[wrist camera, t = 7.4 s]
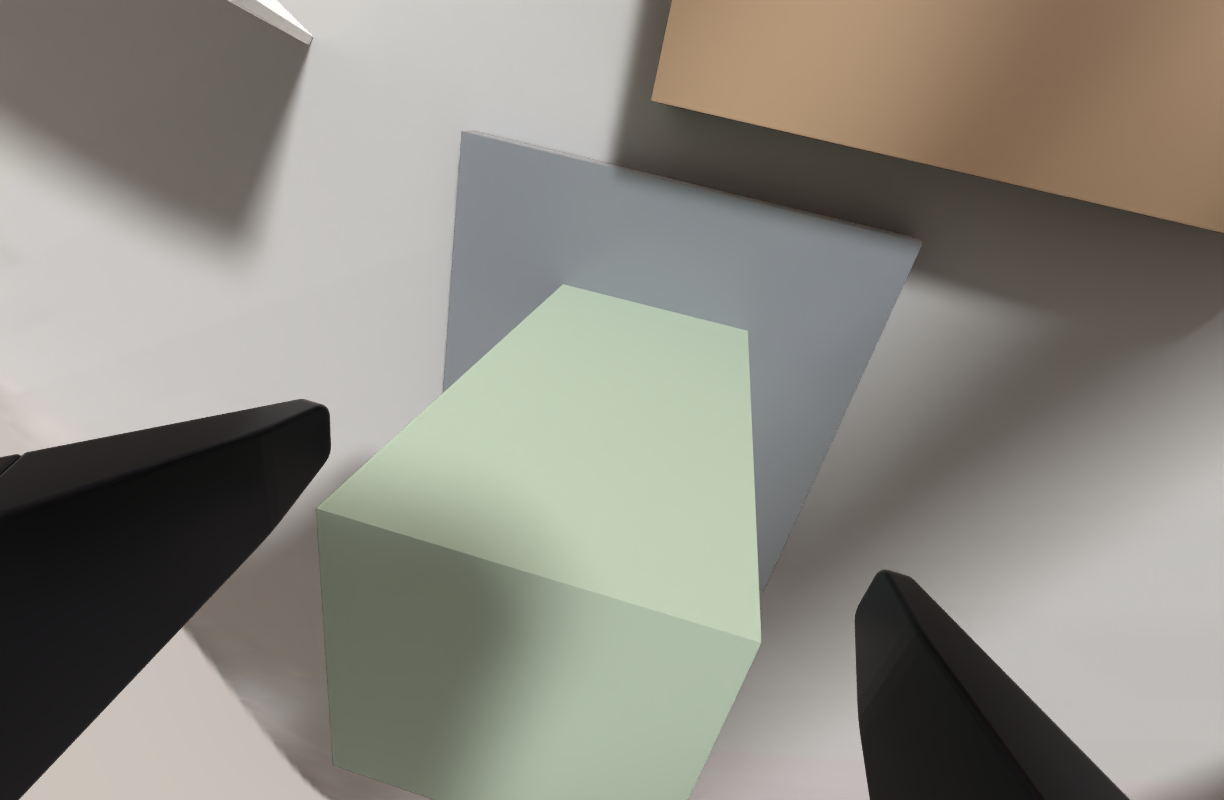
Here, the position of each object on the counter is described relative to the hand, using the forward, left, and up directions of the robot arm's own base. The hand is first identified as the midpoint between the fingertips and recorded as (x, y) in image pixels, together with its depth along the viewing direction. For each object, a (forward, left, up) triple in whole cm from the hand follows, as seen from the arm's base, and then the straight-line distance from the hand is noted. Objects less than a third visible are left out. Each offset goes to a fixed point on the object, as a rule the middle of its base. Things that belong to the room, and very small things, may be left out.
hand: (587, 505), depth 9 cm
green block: (0, 0, -4) cm, 4 cm away
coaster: (0, 0, -5) cm, 5 cm away
